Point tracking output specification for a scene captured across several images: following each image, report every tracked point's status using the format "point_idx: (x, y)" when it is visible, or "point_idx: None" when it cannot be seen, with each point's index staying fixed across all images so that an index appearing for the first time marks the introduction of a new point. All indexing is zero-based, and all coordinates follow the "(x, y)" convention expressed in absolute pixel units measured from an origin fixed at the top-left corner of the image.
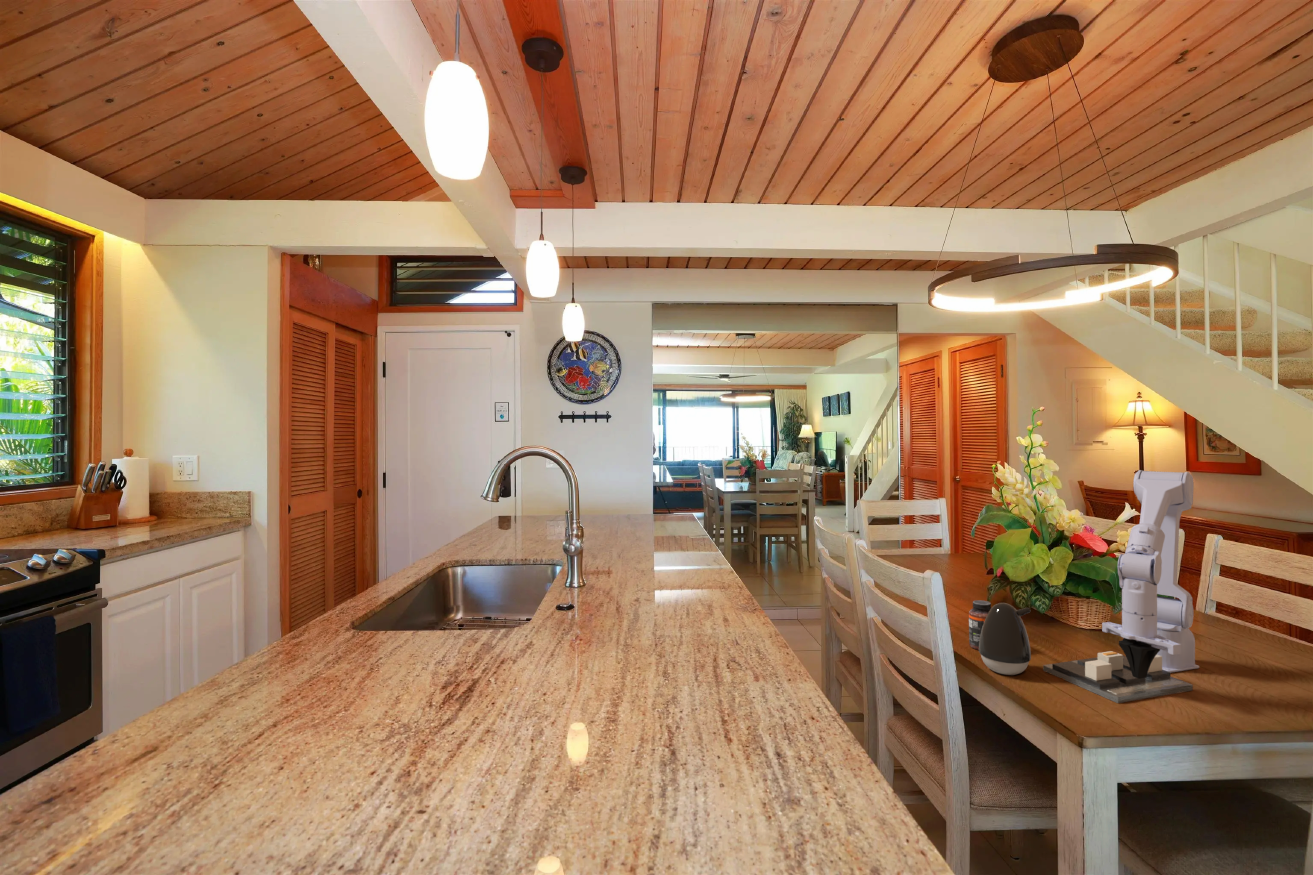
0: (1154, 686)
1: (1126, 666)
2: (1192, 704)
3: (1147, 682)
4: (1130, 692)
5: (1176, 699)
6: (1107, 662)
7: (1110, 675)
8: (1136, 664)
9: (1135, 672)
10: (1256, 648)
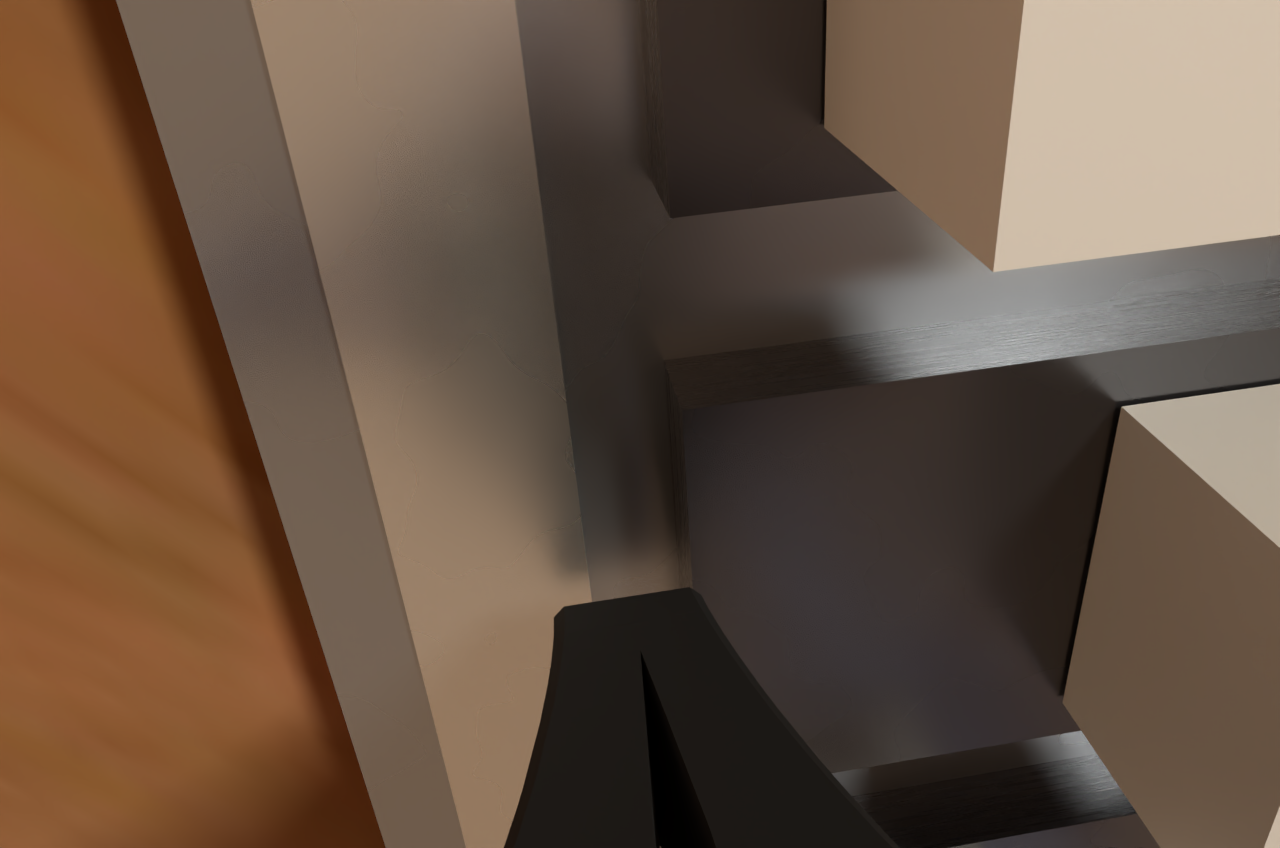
0: (463, 705)
1: (1110, 808)
2: (30, 793)
3: None
4: (259, 84)
5: (211, 729)
6: (1267, 504)
7: (852, 116)
8: (588, 840)
9: (618, 660)
10: None
